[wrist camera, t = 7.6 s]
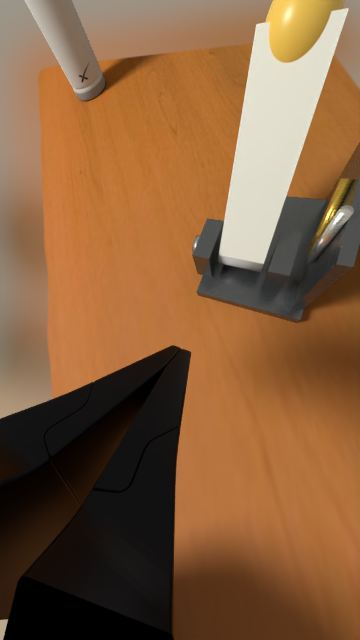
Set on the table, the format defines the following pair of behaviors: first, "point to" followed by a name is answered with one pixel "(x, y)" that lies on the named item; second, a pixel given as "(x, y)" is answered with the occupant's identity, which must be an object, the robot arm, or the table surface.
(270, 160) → the selector lever
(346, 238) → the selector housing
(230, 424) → the table surface
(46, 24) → the travel mug
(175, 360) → the robot arm
